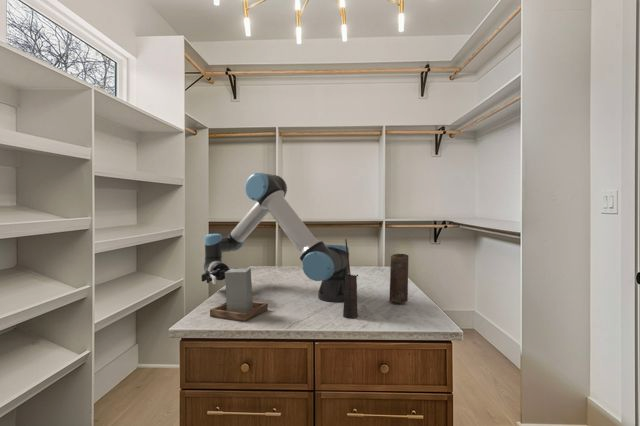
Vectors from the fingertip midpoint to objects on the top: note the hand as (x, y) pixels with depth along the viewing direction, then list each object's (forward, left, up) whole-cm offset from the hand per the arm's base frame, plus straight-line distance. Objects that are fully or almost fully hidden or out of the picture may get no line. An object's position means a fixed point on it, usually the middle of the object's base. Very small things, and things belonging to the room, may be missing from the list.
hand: (232, 279), depth 137 cm
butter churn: (-47, -8, -11) cm, 49 cm away
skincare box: (-7, +6, -11) cm, 14 cm away
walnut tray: (-7, +5, -11) cm, 14 cm away
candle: (-59, -32, -11) cm, 68 cm away
